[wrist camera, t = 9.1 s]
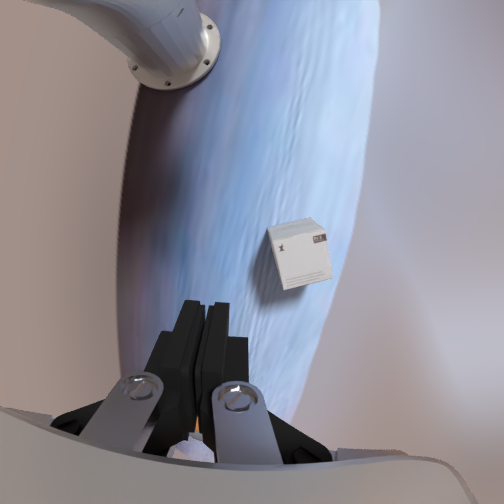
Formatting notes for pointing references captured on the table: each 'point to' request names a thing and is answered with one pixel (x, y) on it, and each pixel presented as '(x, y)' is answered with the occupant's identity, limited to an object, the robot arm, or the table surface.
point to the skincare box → (300, 252)
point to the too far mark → (196, 435)
